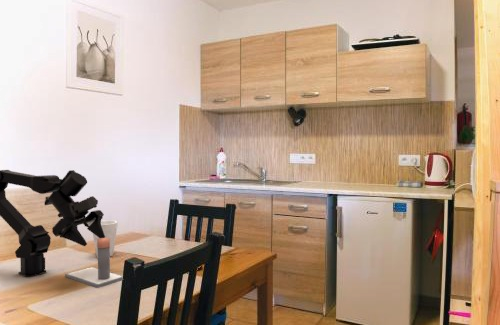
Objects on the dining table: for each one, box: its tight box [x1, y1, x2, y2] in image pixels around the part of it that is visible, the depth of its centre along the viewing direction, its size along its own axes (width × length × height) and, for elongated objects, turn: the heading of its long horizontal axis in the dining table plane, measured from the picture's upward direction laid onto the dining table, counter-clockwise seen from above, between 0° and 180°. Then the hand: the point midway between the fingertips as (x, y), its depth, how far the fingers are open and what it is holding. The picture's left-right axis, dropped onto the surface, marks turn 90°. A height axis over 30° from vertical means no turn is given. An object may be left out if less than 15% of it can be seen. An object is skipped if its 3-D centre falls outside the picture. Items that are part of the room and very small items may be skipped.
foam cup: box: [92, 220, 118, 258], centre depth 158 cm, size 10×9×13 cm
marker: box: [97, 238, 111, 280], centre depth 128 cm, size 4×4×12 cm
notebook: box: [64, 266, 123, 289], centre depth 131 cm, size 10×18×1 cm, turn 55°
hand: (95, 241), depth 128 cm, fingers open, 9 cm apart
